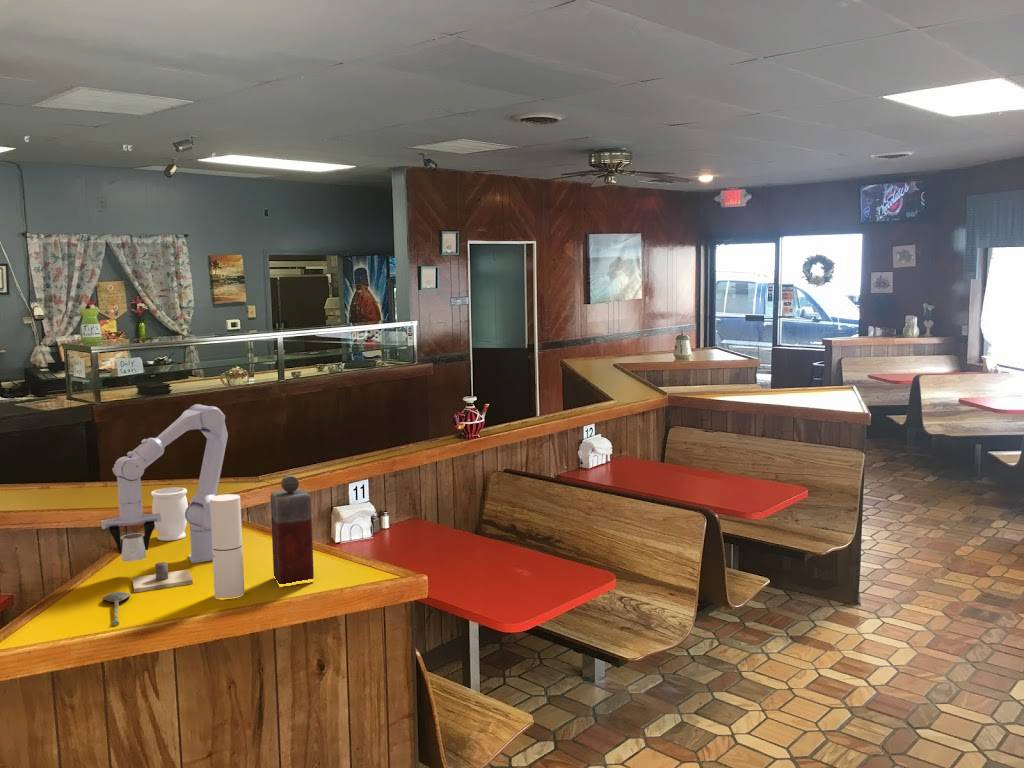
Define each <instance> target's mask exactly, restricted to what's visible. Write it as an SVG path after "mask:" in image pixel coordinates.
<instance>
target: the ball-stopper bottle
mask: <svg viewBox="0 0 1024 768" xmlns="http://www.w3.org/2000/svg"><path fill="white" fill-rule="evenodd" d="M280 485H281V486H280V487H282V489H283V490H279V491H273V492H271V493H270V514H271V515H270V517H271V518H270V519H271V520H270V521H271V539H272V540H271V541H272V542H271V543H272V544H271V545H272V546H271V547H272V565H273V577H274V576H275V578H276V580H277V581H278V583H279V584H286V583H292V582H296V581H302V580H308V579H313V578H314V577H315V575H314V548H313V547H314V545H313V544H314V543H313V521H312V520H313V519H312V497H311V495H310V494H309V493H308V492H307V491H306V490H305V489H304V488H299V486H300V483H299V480H298V478H297V477H295V476H294V475H292V474H287V475H284V477H283V478H282V479H281V482H280ZM314 579H315V578H314Z"/></svg>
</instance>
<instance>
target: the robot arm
mask: <svg viewBox="0 0 1024 768" xmlns="http://www.w3.org/2000/svg"><path fill="white" fill-rule="evenodd" d="M225 421H226V414H224V413H223V411H222V410H221V409H220V408H219V407H217V406H213V405H211V406H209V405H205V404H204V405H203V404H200V403H195V404H194V405H192V406H190V407H189V408H188V409H186V410H184V411H183V412H182V413H181V415H180V416H179V417H178V418H177V419H175V421H173V422H172V423H171V424H170V425H169V426H167V428H166V429H164V430H163V431H162V432H161V433H160V434H159V435H158V436H156V437H148V438H144V439H142V440H141V441H140V443H141V444H139V445H138V446H137V447H135V448H134V449H133V450H132V451H128V452H127V453H126V455H127V456H122V457H119V458H118V459H117V460H115V464H113V467H112V468H111V469H112V472H113V475H114V476H115V477H116V481H117V496H118V498H117V500H118V511H119V512H118V513H119V516H118V517H113V518H109V519H102V520H101V529H102V530H106V529H109V532H110V535H111V537H112V538H113V540H114V542H115V544H116V546H117V550H118V554H119V555H122V549H121V538H120V537H121V530H120V527H124V526H134V525H141V524H143V531H144V532H143V534H144V536H145V551H148V550H149V545H150V540H151V536H152V534H153V531H154V529H155V524H154V522H161V515H160V513H159V514H152V513H145V514H144V513H143V500H142V483H141V480H142V479H141V477H142V476H143V475H144V473H145V469H147V468H148V467H149V466H150V465H151V464H152V463H155V462H156V461H157V459H159V458H160V457H161V456H163V455H164V453H165V447H167V446H168V445H170V444H171V443H172V442H174V441H175V440H176V439H178V438H179V437H180V436H182V435H183V434H184V433H186V432H187V431H193V430H199V431H200V432H201V433H202V434H203V436H204V437H205V438H206V443H205V449H204V452H203V458H202V463H201V468H200V473H199V478H198V483H197V484H198V485H197V489H196V493H195V494H194V495H192V497H191V498H190V501H189V504H188V507H187V509H186V511H185V518H186V520H187V523H189V538H190V554H188V555H187V557H188V558H189V561H190V562H191V564H197V563H203V562H211V561H212V562H213V554H212V533H211V512H210V498H211V497H214V496H217V494H218V487H219V484H220V478H221V474H222V467H223V463H224V459H225V458H224V457H225V452H226V447H227V443H228V438H229V434H228V430H227V426H226V422H225Z"/></svg>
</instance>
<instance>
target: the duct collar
mask: <svg viewBox="0 0 1024 768" xmlns="http://www.w3.org/2000/svg"><path fill="white" fill-rule="evenodd" d="M120 542H121V549H122V554H121V561H123V562H128V563H129V562H137V561H141V560H143V559H146V558H147V556H146V555H147V554H146V550H145V535H144V533H137V532H135V533H127V534H125V535H122V536H121V535H120Z"/></svg>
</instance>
